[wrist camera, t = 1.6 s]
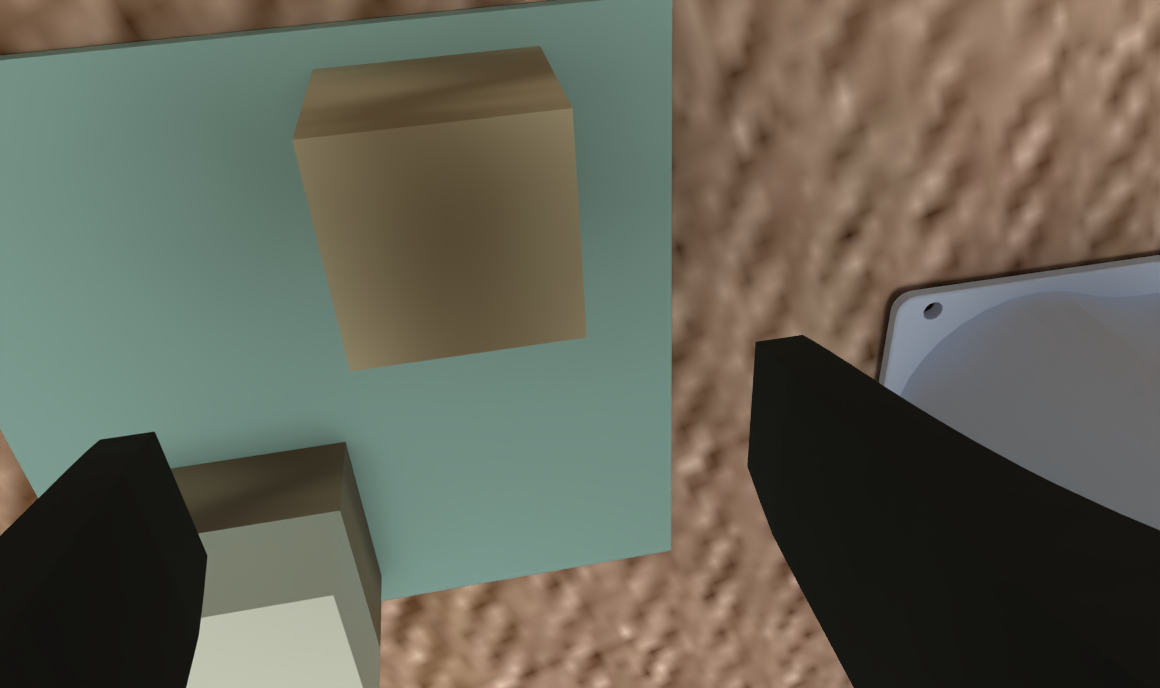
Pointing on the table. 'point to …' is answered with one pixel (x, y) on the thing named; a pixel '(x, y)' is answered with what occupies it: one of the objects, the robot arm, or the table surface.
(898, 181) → the table surface
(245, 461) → the walnut block
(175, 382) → the teal board
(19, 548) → the robot arm
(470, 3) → the table surface
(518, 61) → the oak block
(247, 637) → the cream block
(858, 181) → the table surface
